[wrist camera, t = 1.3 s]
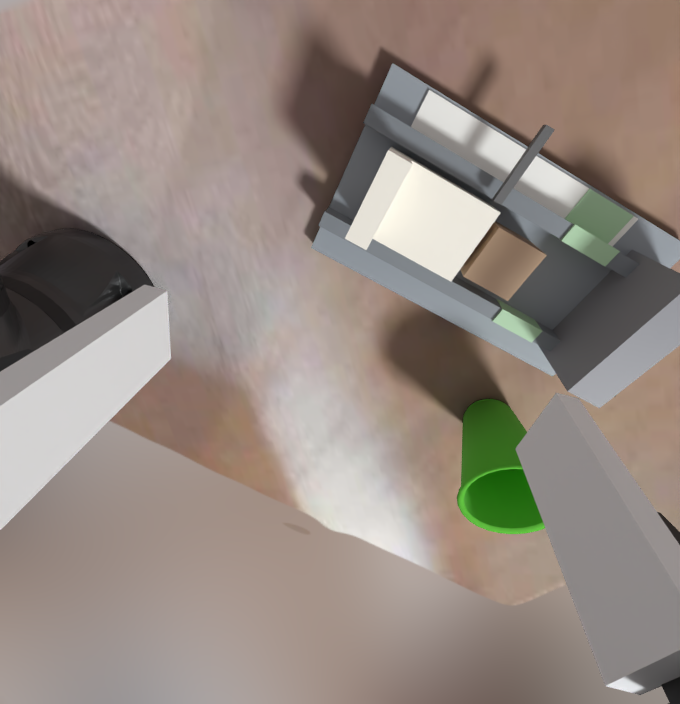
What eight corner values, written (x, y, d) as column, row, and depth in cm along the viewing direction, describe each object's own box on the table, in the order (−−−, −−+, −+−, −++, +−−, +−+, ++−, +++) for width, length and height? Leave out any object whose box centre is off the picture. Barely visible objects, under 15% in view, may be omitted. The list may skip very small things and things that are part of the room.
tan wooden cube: (456, 260, 30) (463, 276, 26) (487, 216, 28) (499, 227, 24) (496, 282, 30) (507, 301, 27) (529, 240, 28) (546, 255, 25)
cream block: (356, 217, 29) (344, 238, 23) (432, 64, 23) (441, 40, 17) (446, 266, 30) (456, 299, 24) (539, 131, 24) (583, 131, 18)
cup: (446, 382, 38) (460, 463, 28) (538, 383, 36) (585, 469, 27) (443, 443, 42) (454, 530, 33) (524, 446, 41) (560, 538, 31)
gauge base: (314, 244, 32) (289, 274, 25) (392, 66, 25) (389, 39, 18) (548, 369, 35) (583, 427, 28) (681, 244, 28) (773, 280, 21)
